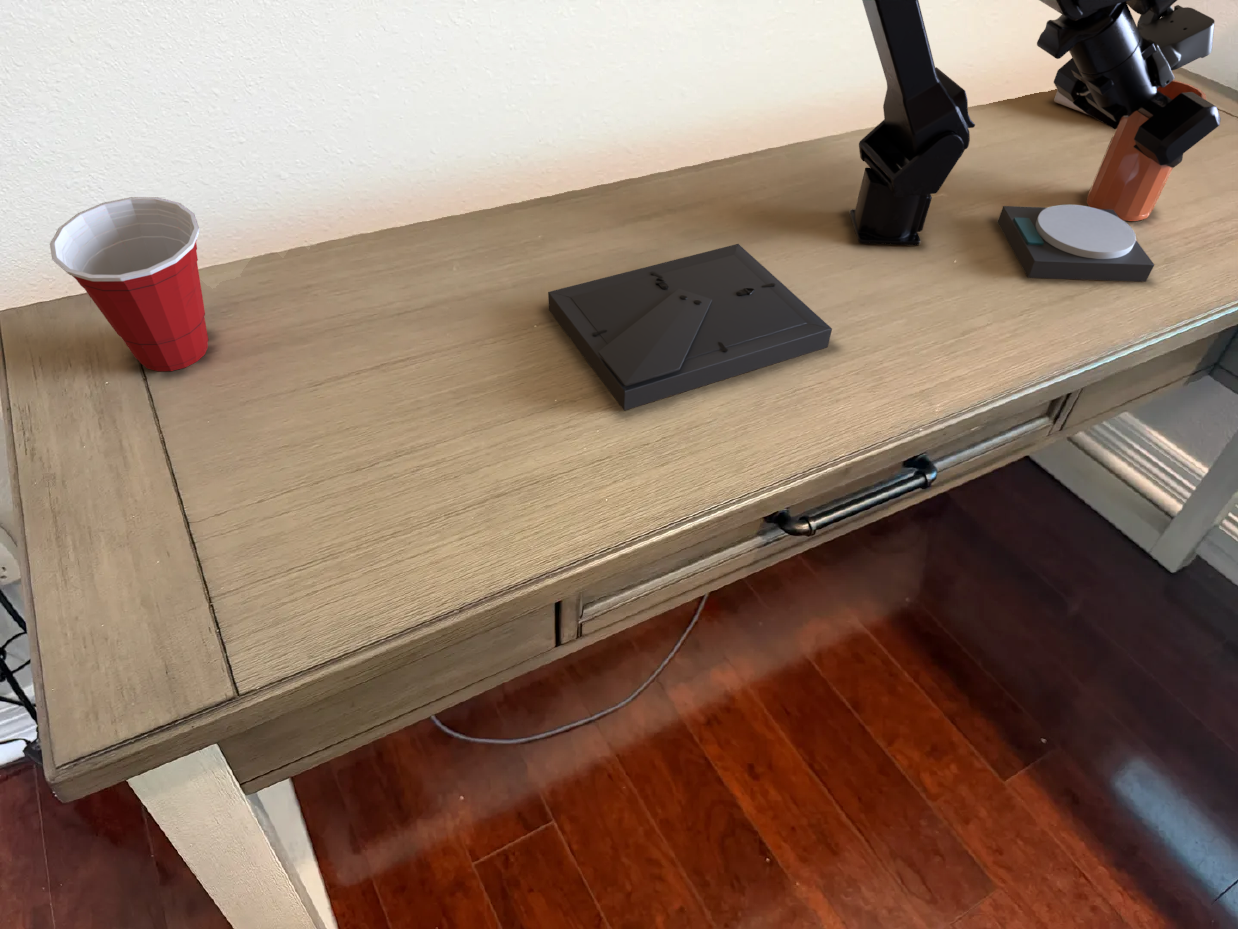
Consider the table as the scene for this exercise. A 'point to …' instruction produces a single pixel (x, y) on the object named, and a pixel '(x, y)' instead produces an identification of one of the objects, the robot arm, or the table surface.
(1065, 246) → the scale
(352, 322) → the table surface
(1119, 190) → the tumbler
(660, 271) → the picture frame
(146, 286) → the plastic cup
